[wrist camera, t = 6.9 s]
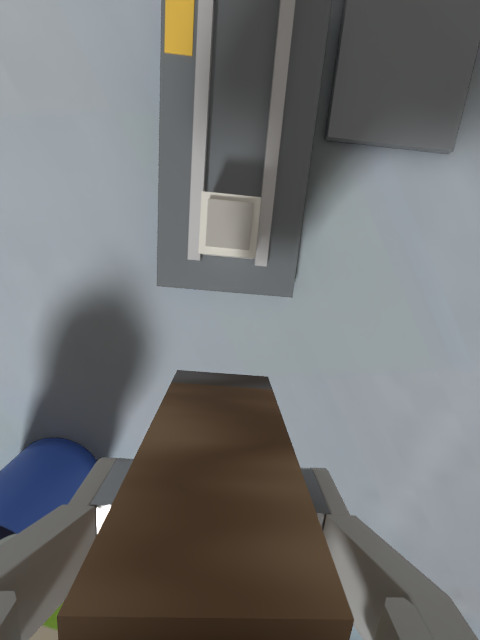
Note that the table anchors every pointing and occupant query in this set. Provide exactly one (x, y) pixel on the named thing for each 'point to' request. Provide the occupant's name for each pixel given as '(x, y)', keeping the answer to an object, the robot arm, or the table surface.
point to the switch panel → (237, 132)
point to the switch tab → (229, 225)
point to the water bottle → (40, 482)
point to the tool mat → (403, 73)
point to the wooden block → (210, 530)
